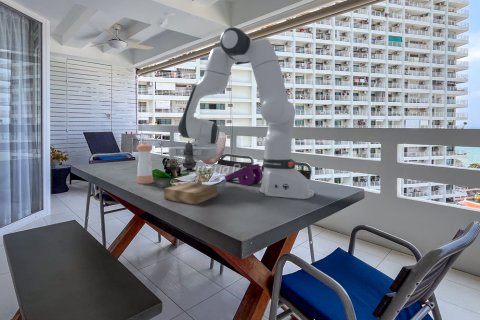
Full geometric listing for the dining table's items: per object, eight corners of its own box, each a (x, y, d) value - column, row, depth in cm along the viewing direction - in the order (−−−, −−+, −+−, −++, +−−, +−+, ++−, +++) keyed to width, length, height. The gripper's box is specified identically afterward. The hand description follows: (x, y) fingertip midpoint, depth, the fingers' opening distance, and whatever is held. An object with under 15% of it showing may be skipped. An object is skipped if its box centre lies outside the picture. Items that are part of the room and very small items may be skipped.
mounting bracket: (226, 194, 135) (254, 182, 125) (221, 178, 137) (247, 165, 126) (238, 190, 143) (264, 179, 132) (232, 175, 144) (258, 163, 134)
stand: (216, 196, 106) (217, 186, 106) (194, 204, 94) (194, 193, 94) (188, 191, 113) (188, 182, 113) (164, 198, 101) (164, 188, 101)
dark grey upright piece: (195, 172, 104) (195, 141, 103) (180, 172, 104) (179, 141, 103) (197, 170, 110) (197, 140, 109) (183, 170, 110) (182, 140, 109)
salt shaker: (140, 184, 126) (139, 143, 124) (134, 182, 131) (133, 142, 129) (155, 182, 131) (154, 142, 129) (149, 180, 136) (148, 142, 134)
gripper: (174, 143, 120) (162, 145, 106) (220, 143, 118) (213, 145, 104) (175, 157, 121) (162, 161, 107) (220, 158, 118) (213, 161, 105)
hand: (188, 153), depth 106 cm, fingers closed on dark grey upright piece, 4 cm apart
